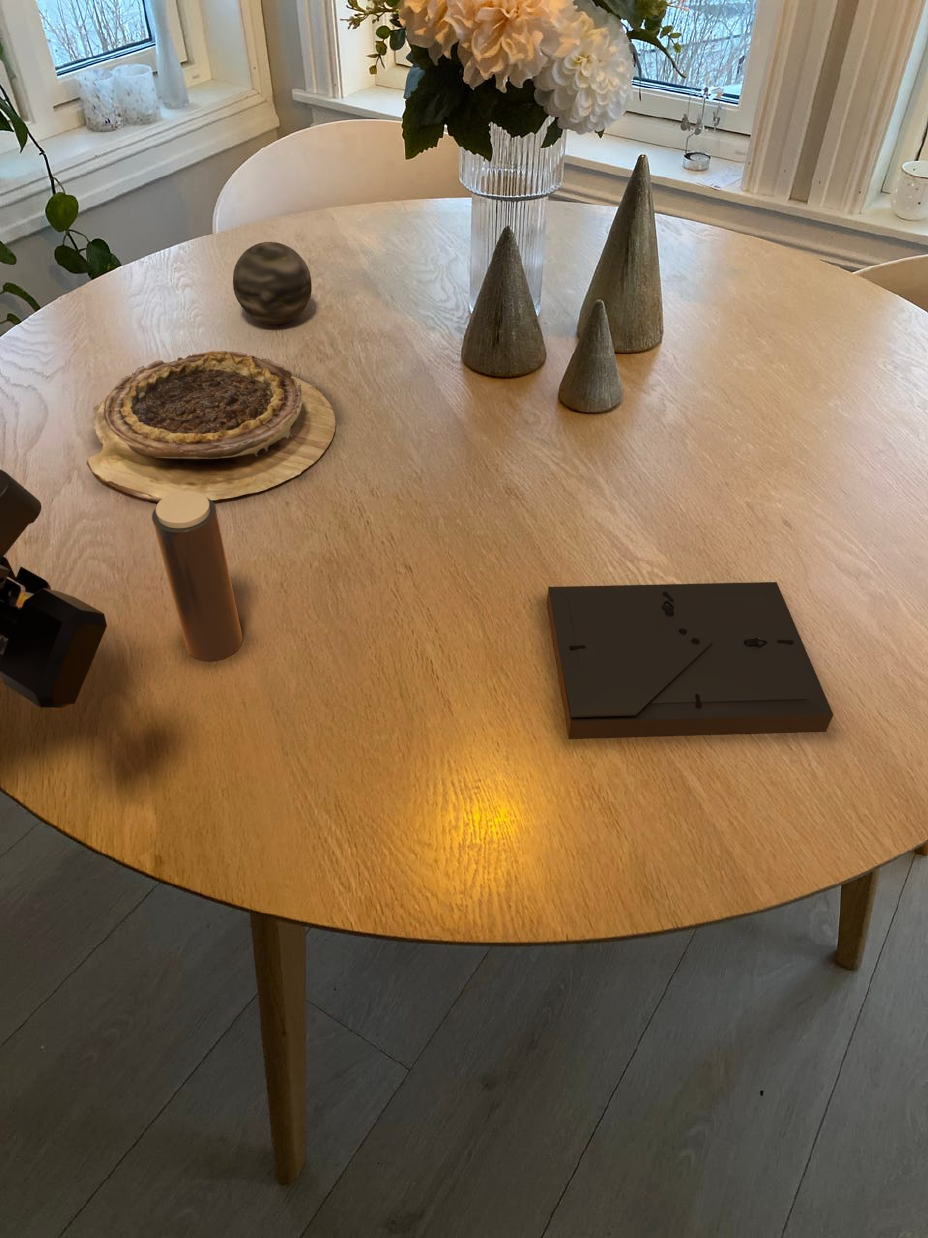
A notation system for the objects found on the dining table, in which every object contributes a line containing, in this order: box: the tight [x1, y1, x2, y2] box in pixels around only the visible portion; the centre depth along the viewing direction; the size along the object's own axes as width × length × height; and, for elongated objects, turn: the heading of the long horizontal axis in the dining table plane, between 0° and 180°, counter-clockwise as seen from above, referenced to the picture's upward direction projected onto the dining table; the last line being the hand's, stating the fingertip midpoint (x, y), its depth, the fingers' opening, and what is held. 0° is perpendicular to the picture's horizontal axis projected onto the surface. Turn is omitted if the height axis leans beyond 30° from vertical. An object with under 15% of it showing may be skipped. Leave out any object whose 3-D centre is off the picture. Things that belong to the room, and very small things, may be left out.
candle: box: [151, 491, 243, 662], centre depth 78 cm, size 5×5×15 cm
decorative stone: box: [232, 241, 313, 325], centre depth 123 cm, size 10×10×10 cm
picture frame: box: [546, 581, 834, 740], centre depth 81 cm, size 16×3×21 cm
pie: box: [86, 350, 337, 503], centre depth 105 cm, size 28×27×5 cm
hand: (77, 617), depth 67 cm, fingers closed
